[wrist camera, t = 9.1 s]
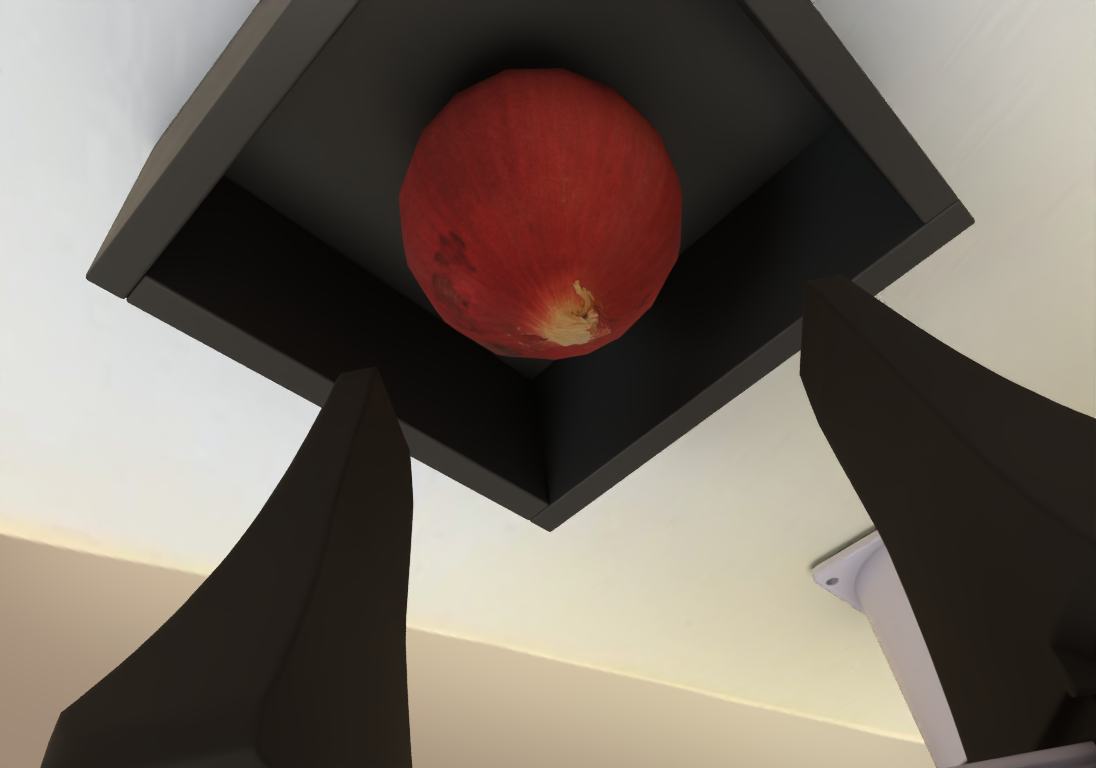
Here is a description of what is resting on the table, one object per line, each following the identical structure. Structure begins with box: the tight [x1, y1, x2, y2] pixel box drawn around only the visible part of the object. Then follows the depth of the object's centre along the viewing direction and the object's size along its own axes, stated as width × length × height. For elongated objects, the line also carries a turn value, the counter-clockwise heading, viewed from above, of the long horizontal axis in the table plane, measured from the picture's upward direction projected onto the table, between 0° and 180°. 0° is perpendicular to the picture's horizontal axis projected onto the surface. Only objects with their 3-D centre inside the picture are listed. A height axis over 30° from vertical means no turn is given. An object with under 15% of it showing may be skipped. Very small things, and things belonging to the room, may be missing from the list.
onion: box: [399, 68, 682, 360], centre depth 17 cm, size 6×6×8 cm
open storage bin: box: [86, 0, 975, 532], centre depth 19 cm, size 13×13×6 cm
